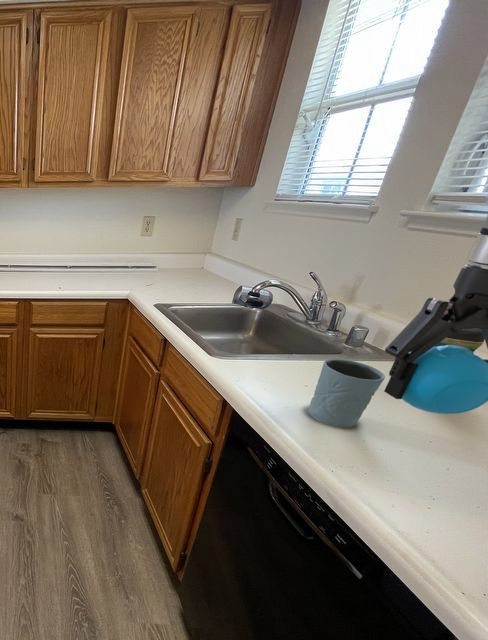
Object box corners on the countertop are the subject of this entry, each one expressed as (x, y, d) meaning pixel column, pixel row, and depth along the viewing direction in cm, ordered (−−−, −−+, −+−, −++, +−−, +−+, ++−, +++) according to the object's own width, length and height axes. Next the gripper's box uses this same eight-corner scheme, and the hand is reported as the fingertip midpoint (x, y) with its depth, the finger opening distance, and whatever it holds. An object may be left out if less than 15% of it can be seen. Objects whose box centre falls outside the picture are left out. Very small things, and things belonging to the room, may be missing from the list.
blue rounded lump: (492, 421, 67) (533, 355, 62) (447, 433, 64) (486, 365, 59) (406, 388, 78) (435, 330, 73) (363, 397, 75) (390, 337, 70)
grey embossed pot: (314, 401, 98) (333, 355, 93) (368, 420, 91) (392, 371, 86) (297, 414, 93) (316, 366, 88) (353, 435, 85) (377, 383, 80)
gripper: (563, 262, 63) (489, 389, 72) (391, 260, 65) (341, 383, 74) (627, 273, 56) (536, 411, 66) (433, 270, 58) (372, 404, 68)
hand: (432, 396), depth 70 cm, fingers closed on blue rounded lump, 12 cm apart
